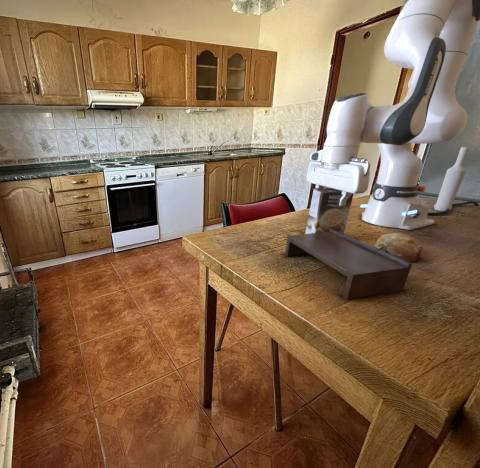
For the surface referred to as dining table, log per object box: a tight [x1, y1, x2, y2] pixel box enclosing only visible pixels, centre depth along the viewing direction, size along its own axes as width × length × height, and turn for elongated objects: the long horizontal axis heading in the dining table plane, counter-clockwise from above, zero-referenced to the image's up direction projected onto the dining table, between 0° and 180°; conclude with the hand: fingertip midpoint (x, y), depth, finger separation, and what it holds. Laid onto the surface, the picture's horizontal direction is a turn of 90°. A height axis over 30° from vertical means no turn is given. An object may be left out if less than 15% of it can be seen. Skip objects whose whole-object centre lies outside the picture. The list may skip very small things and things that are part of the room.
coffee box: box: [304, 187, 354, 234], centre depth 82 cm, size 9×6×16 cm
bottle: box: [433, 146, 470, 212], centre depth 103 cm, size 5×5×25 cm
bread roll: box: [374, 232, 423, 263], centre depth 71 cm, size 10×10×8 cm
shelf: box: [284, 229, 413, 300], centre depth 64 cm, size 14×22×7 cm, turn 10°
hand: (329, 202), depth 80 cm, fingers closed on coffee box, 7 cm apart
